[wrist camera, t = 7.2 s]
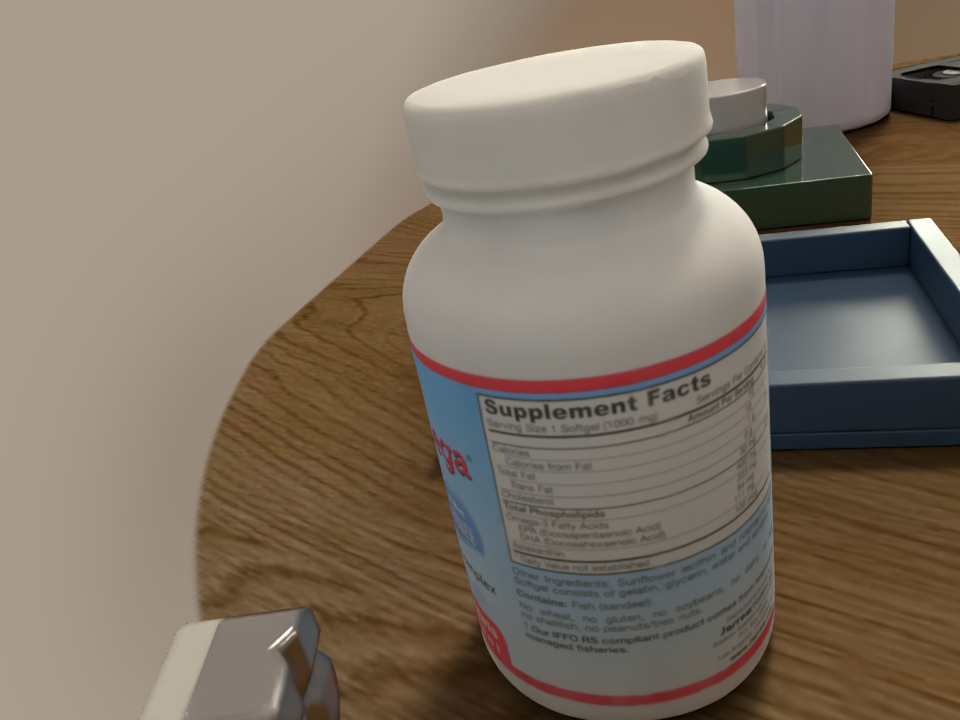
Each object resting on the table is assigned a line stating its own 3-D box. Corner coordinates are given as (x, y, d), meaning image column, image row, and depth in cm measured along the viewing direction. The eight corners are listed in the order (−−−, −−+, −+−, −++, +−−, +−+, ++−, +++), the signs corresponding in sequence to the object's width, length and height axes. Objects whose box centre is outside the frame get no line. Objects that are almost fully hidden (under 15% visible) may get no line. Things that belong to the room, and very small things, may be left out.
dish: (444, 458, 24) (430, 401, 23) (516, 302, 34) (508, 258, 33) (1046, 443, 20) (1057, 372, 19) (927, 269, 30) (930, 217, 29)
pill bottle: (505, 530, 20) (408, 72, 16) (757, 522, 19) (736, 14, 14) (458, 737, 15) (288, 144, 10) (800, 748, 14) (792, 63, 9)
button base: (597, 245, 38) (587, 163, 37) (614, 187, 47) (606, 118, 45) (871, 218, 35) (874, 126, 33) (836, 160, 44) (836, 85, 42)
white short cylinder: (674, 146, 38) (670, 103, 37) (675, 127, 42) (672, 86, 41) (771, 134, 37) (770, 88, 36) (764, 115, 41) (763, 73, 40)
